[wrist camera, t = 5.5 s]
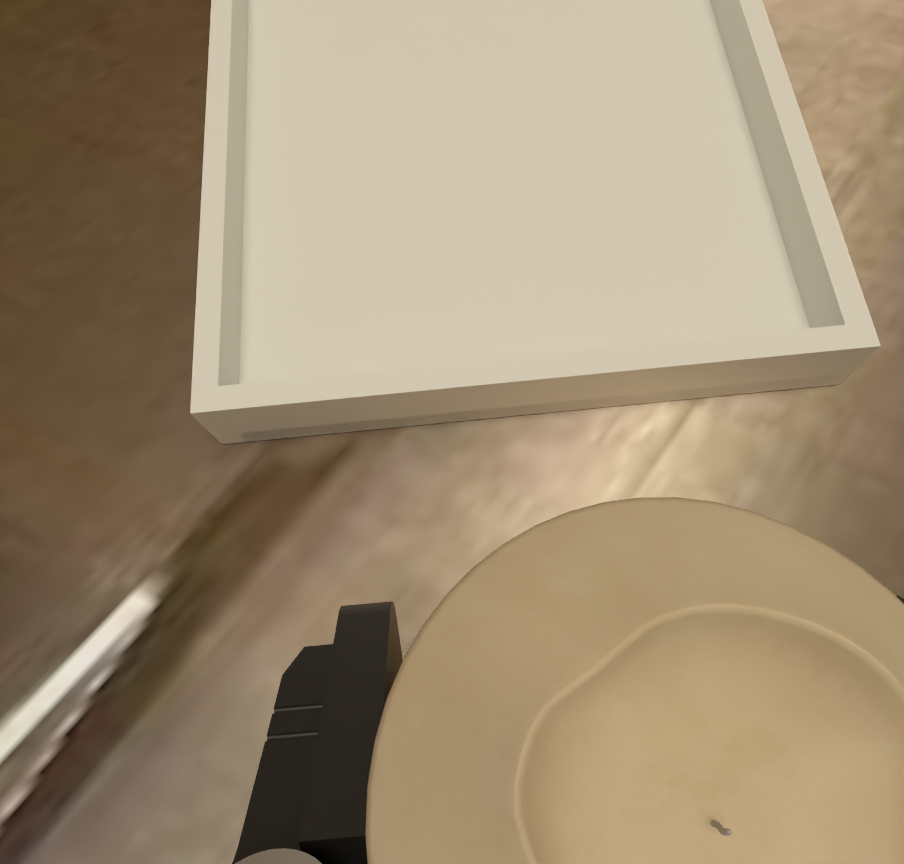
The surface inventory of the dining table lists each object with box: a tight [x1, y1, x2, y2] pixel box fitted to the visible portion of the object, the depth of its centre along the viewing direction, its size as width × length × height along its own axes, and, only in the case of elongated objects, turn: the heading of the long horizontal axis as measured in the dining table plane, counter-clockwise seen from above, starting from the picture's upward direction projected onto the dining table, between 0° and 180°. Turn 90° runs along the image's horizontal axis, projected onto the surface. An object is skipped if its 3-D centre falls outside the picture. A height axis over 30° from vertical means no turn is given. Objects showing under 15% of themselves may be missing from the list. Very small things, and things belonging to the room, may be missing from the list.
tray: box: [190, 0, 881, 444], centre depth 20 cm, size 15×19×2 cm
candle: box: [365, 498, 904, 864], centre depth 9 cm, size 6×6×10 cm
